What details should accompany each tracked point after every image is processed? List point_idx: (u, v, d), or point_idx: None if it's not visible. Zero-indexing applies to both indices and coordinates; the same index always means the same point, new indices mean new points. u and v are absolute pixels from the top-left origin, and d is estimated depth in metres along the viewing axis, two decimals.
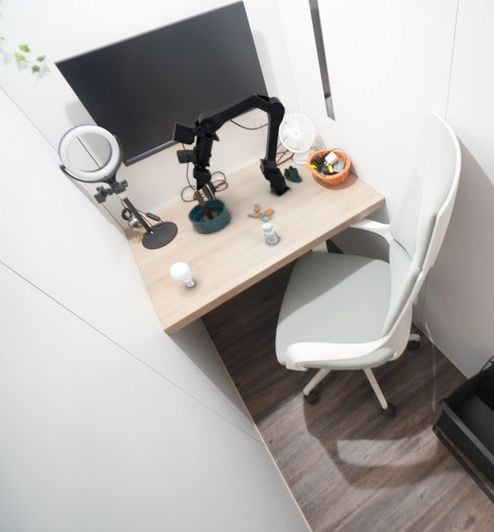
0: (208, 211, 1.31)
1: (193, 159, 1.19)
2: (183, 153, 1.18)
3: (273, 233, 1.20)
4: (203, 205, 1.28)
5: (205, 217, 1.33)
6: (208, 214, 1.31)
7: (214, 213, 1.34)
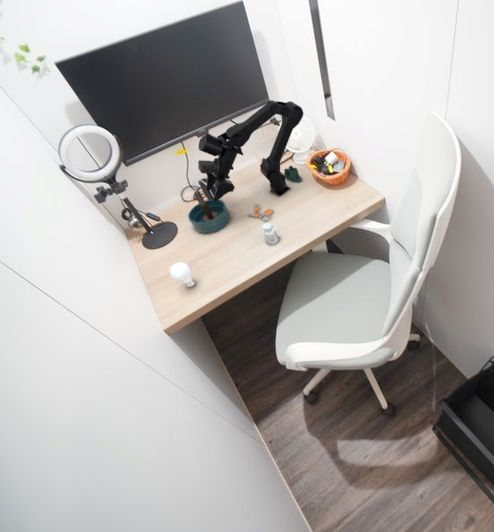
0: (208, 211, 1.31)
1: (216, 170, 1.21)
2: (206, 163, 1.19)
3: (273, 233, 1.20)
4: (203, 205, 1.28)
5: (205, 217, 1.33)
6: (208, 214, 1.31)
7: (214, 213, 1.34)
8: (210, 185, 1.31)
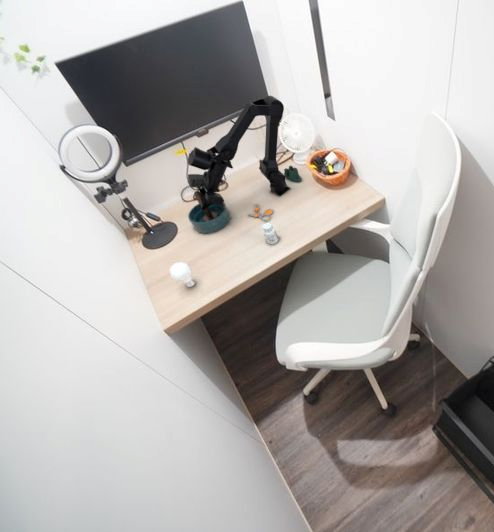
0: (208, 211, 1.31)
1: (206, 183, 1.21)
2: (196, 177, 1.20)
3: (273, 233, 1.20)
4: None
5: (205, 217, 1.33)
6: (208, 214, 1.31)
7: (214, 213, 1.34)
8: None
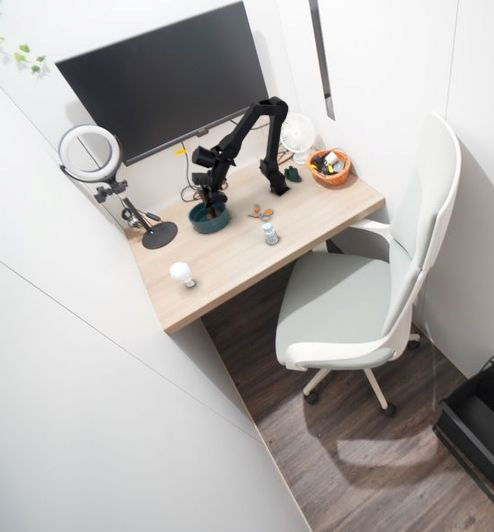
0: (212, 209, 1.31)
1: (209, 182, 1.22)
2: (199, 175, 1.20)
3: (273, 233, 1.20)
4: None
5: (208, 215, 1.34)
6: (211, 212, 1.32)
7: (217, 211, 1.35)
8: None
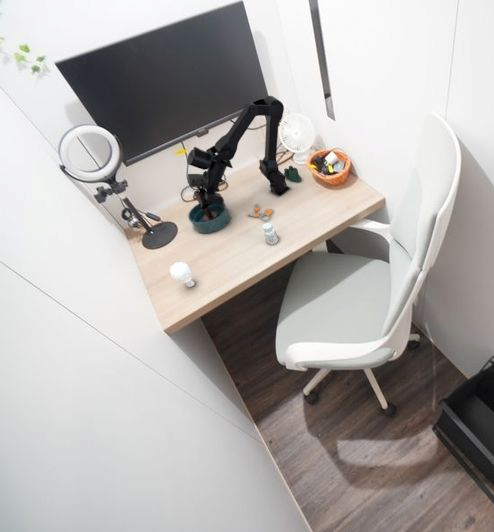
0: (208, 211, 1.31)
1: (205, 183, 1.22)
2: (195, 177, 1.20)
3: (273, 233, 1.20)
4: None
5: (205, 217, 1.33)
6: (208, 214, 1.31)
7: (214, 213, 1.34)
8: None
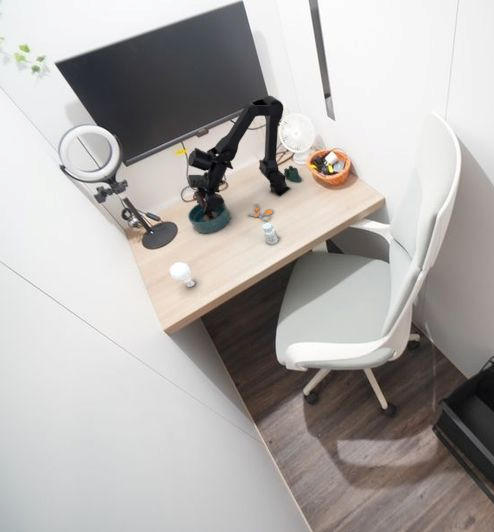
0: None
1: (206, 184, 1.22)
2: (196, 178, 1.20)
3: (273, 233, 1.20)
4: (203, 205, 1.28)
5: (205, 217, 1.33)
6: (208, 214, 1.31)
7: (214, 213, 1.34)
8: None
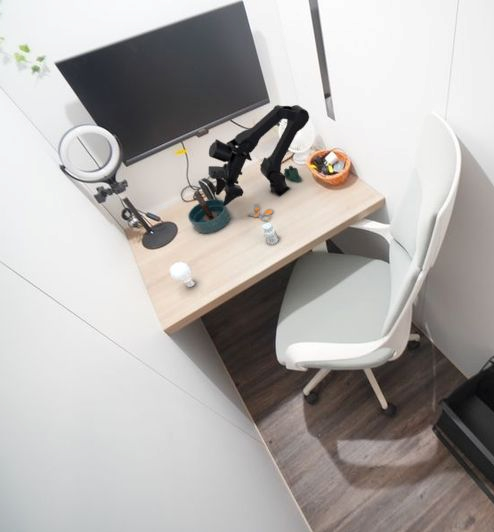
0: (208, 211, 1.31)
1: (226, 175, 1.24)
2: (216, 169, 1.23)
3: (273, 233, 1.20)
4: (203, 205, 1.28)
5: (205, 217, 1.33)
6: (208, 214, 1.31)
7: (214, 213, 1.34)
8: (220, 189, 1.34)
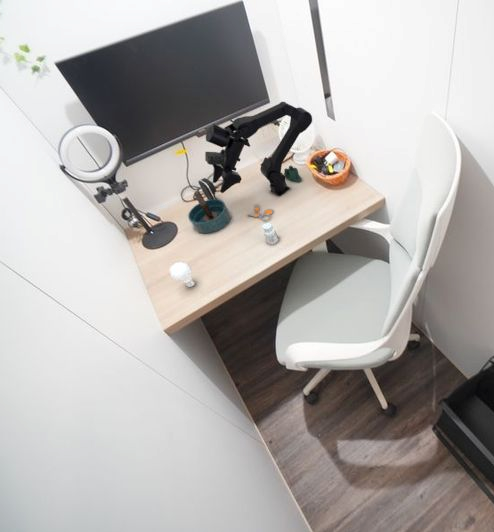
0: (208, 211, 1.31)
1: (223, 161, 1.20)
2: (213, 154, 1.19)
3: (273, 233, 1.20)
4: (203, 205, 1.28)
5: (205, 217, 1.33)
6: (208, 214, 1.31)
7: (214, 213, 1.34)
8: (217, 177, 1.30)
